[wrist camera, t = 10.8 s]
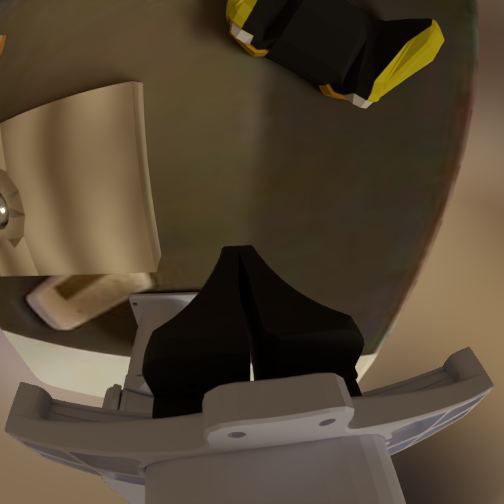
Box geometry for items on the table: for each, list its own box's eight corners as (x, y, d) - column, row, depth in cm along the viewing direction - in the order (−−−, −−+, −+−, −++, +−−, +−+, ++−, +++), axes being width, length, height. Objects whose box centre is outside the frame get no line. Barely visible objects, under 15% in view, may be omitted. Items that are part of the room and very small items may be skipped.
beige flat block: (142, 82, 15) (132, 81, 13) (161, 254, 23) (156, 271, 21) (-31, 142, 13) (-46, 149, 11) (2, 263, 21) (-9, 276, 19)
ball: (4, 184, 17) (22, 206, 19) (-16, 209, 16) (3, 231, 18) (1, 177, 15) (21, 201, 17) (-22, 205, 14) (-1, 230, 15)
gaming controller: (255, -56, 10) (190, 34, 14) (267, -90, 5) (180, 12, 9) (414, 40, 15) (368, 126, 19) (457, 37, 10) (408, 139, 14)
